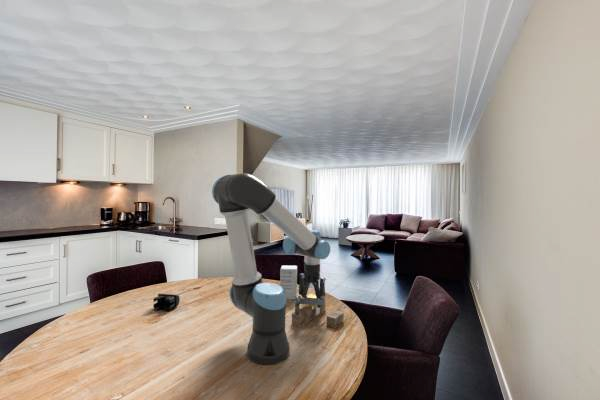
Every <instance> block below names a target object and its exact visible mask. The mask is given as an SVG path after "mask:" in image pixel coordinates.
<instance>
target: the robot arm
mask: <svg viewBox="0 0 600 400" xmlns="http://www.w3.org/2000/svg"><path fill="white" fill-rule="evenodd" d="M211 195H212V198H213V200H214V201H215V202H216V203H217V204H218V210H219V214H221V215H223V216H224V219H225V225H226V231H227V236H228V243H229V248H230V254H231V259H232V260H231V261H232V266H233V273H234V276H233V278H232V280H231V287H230V289H229V298H230V301H231V303H232V304H233V305H234V306H235V308H237V309H238V310H240V311H242V312H244V313H245V314H247V315H249V316H250V317H252V332H251V335H250V338H249V341H248V344H247V347H246V352H247V353H246V356H247V358H248V359H249V361H251V362H253V363H256V364H258V363H259V365H274V364H273V363H275V364H278V362H279V363H280V361H281V362H283V361H285V360H286V359H287V358H288V357H289V356H290V350H291V349H290V342H289V341H288V337H287V333H286V313H287V312H286V307H287V299H286V295H285V290H284V289H283V288H282V287H281V286H280V284H277V283H272V282H264V281H263V276H262V273H260V272H259V271H257V270H258V269H257V263H256V258H255V257H256V256H255V250H254V244H253V237H252V231H251V227H250V224H251V223H250V220H249V219H250V218H249V212H250V210H251V211H253V212H254V213H256V214H257V215H263V217H264V218H266V219H267V220H268V221H269V222H271V223H272V225H274V226H275V227H277V229H279V230H280V231H281V232H282V233H283V234H284V235H285V236H287V237H285V238H284V240H283V241H282V248H283V251H284V253H286V254H287V255H294V254H298V255H301V256H304V259H303V262H304V263H303V265H304V266H303V269H304V270H303V271H304V272H303V273H299V274H298V279H299V285H298V296H301V297H305V296H308V292H309V288H310V285H312V287H313V289H314V292H315V293H314V295H316V298H320V296H325V297H326V288H325V287H326V285H325V284H326V279H327V278H326V277H322V276H321V274H320V272H321V264H320V263H321V260H325V259H327V258H328V257H329V256H330V253H331V245H330V243H329V242H328V241H326V240H323V239H322V237H321V236H322V235H321V231H319V230H315V229H309V228H308V227H306V226H305V224H304V223H303V222H301V221H300V220H299V219H298V217H296V216H295V215H294V214H293V213H292V212H291V211H290V210H288V208H287V207H286V206H285V205H284V204H282V203H281V202H280V201H279V200H278V199H277V194H276V193H275V192H274V191H273V190H272V189H271V188H269V187H268V185H266V184H265V183H264V182H263V181H262V180H260V179H259V178H257V177H256V176H254V175H252V174H250V173H245V172H244V173H243V172H242V173H236V174H235V173H234V174H226V175H223V176H220V177H218V178H217V180H216V181H215V182H214V183H213V185H212V188H211ZM320 307H321V305H315V315H317V314H319V313H320ZM288 355H289V356H288ZM284 359H285V360H284Z"/></svg>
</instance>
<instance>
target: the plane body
mask: <svg viewBox="0 0 600 400" xmlns="http://www.w3.org/2000/svg"><path fill="white" fill-rule="evenodd" d="M326 302H327V301H326V300H325V304H326ZM300 305H301V304H294V311H293V312H292V313H291V325H293V326H294V325H295V327H297V326H298V328H300V326H301V327H302V326H303V324H304V325H305V324H307V323H308V321H309V322H310V321H312V320H314V319H315V318H317V317H318V316H320V315H321V314H320V313H322V312H323V313H325V312H326V305H325V306H324V305H321V307H320V313H319V314H320V315H319V314H317V315H318V316H317V315H315V309H313V310H310V309H307V308H303V307H301V306H300ZM324 311H325V312H324ZM323 313H322V314H323ZM316 316H317V317H316ZM314 317H315V318H314ZM313 318H314V319H313ZM311 319H312V320H311ZM306 322H307V323H306Z"/></svg>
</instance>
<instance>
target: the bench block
mask: <svg viewBox="0 0 600 400" xmlns="http://www.w3.org/2000/svg"><path fill="white" fill-rule="evenodd" d="M344 315H345V313H344V312H343V311H339V310H334V311H332V312H331V313H330V314H328V315H327V316H326V326H328V325H329V326H328V327H331V326H333V327H332V328H334V327H336V326H337V325H338V326H340V325H341V324H342V323H344V322H345V321H344V320H345V319H344ZM343 321H344V322H343ZM341 322H342V323H341ZM340 323H341V324H340ZM339 324H340V325H339ZM338 326H337V327H338ZM337 327H336V328H337Z"/></svg>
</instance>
